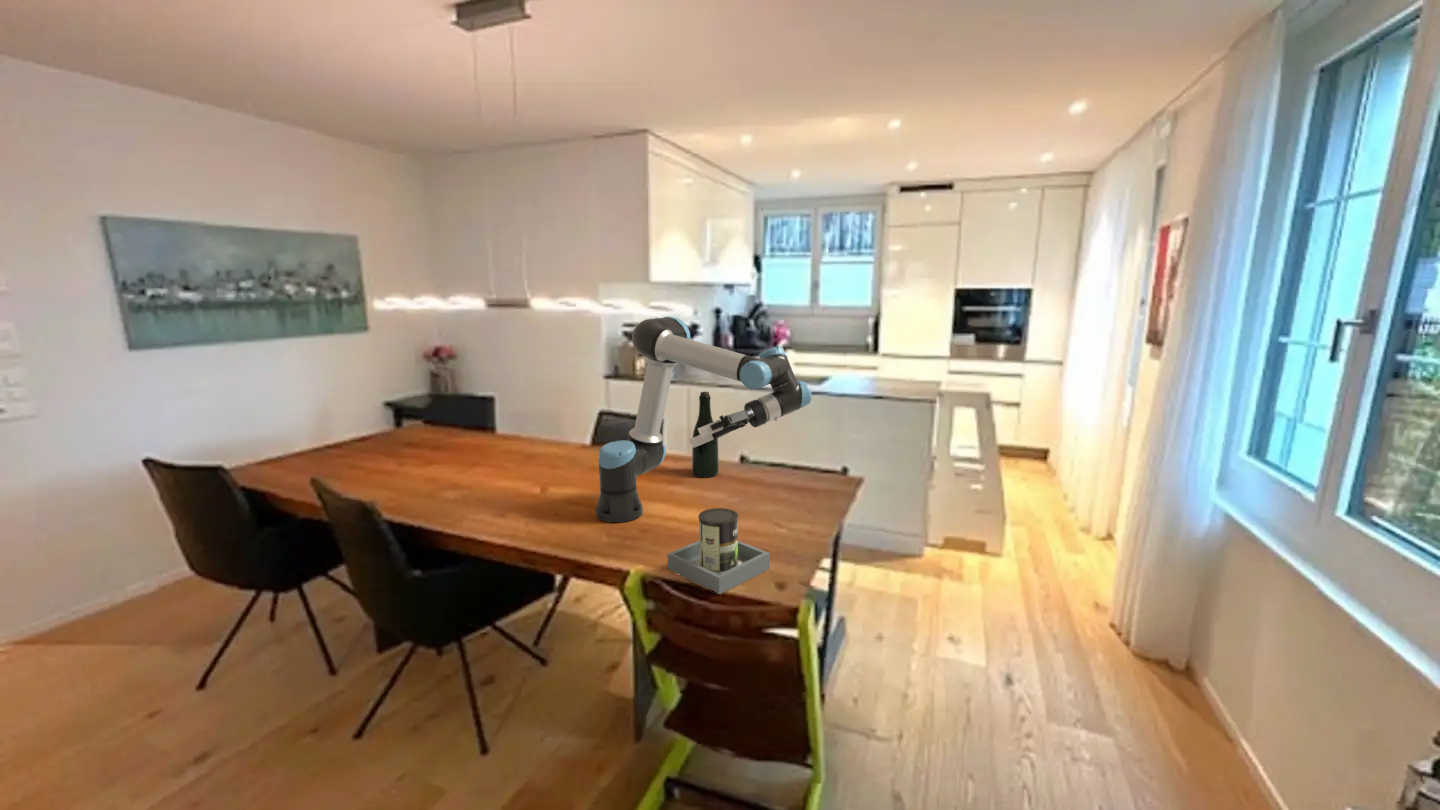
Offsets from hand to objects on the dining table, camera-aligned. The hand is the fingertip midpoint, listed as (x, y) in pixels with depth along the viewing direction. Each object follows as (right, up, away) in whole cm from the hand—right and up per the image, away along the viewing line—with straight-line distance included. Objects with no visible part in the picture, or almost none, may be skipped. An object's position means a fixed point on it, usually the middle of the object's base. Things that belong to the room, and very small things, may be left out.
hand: (695, 438), depth 168 cm
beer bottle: (+1, -18, +71) cm, 73 cm away
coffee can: (+7, -33, -8) cm, 35 cm away
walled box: (+7, -34, -8) cm, 36 cm away
